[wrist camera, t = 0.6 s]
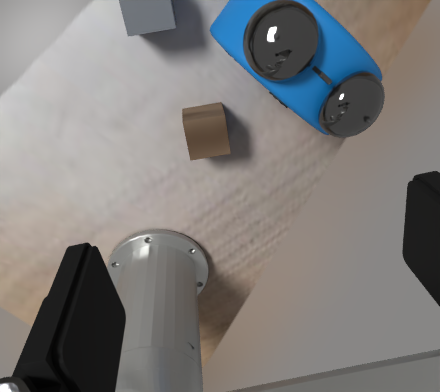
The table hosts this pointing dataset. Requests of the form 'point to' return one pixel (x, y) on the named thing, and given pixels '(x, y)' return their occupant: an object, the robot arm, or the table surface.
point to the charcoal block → (147, 16)
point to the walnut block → (206, 131)
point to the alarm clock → (304, 62)
